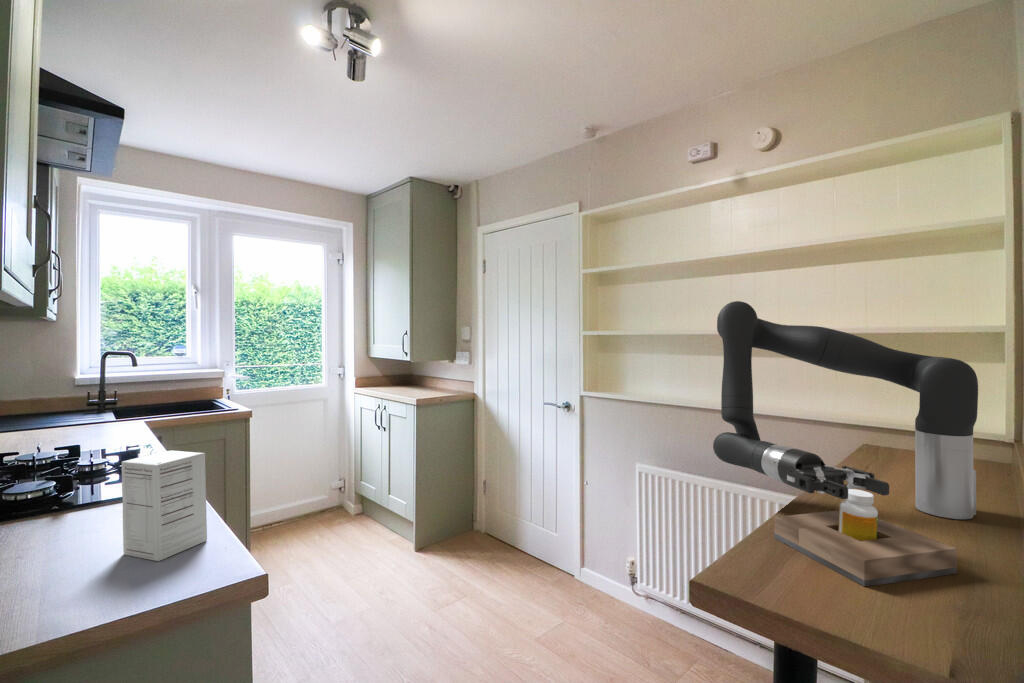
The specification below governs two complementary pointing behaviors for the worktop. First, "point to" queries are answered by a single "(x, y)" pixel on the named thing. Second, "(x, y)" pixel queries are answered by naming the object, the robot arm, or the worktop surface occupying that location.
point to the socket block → (866, 549)
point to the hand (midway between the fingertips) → (867, 491)
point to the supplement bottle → (858, 516)
